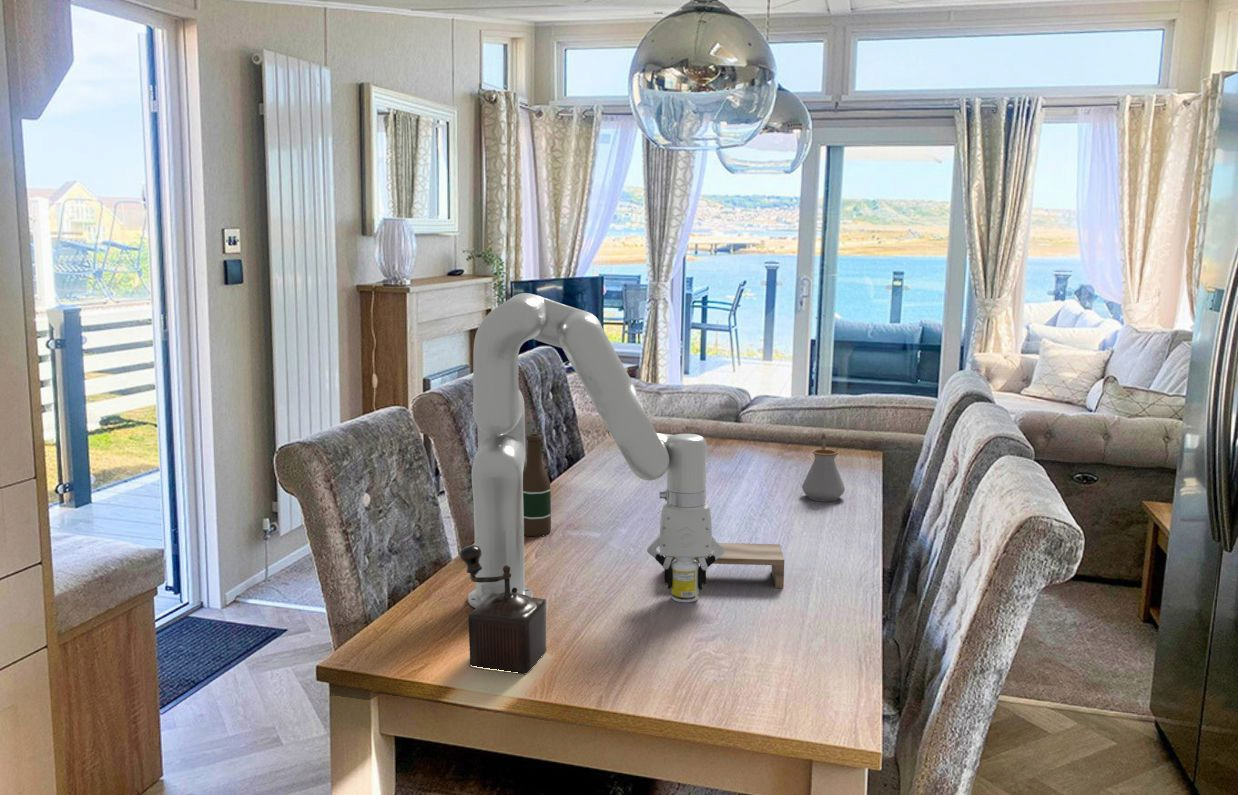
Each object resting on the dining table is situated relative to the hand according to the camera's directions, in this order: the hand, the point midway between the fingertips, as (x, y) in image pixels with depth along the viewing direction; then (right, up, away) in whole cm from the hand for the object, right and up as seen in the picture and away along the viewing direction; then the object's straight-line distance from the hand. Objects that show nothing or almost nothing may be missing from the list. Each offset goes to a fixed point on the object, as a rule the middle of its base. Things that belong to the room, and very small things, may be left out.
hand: (684, 586), depth 192 cm
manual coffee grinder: (-34, -7, -26) cm, 43 cm away
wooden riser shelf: (+9, -1, +12) cm, 15 cm away
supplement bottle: (0, -3, 0) cm, 3 cm away
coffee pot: (+44, +10, +78) cm, 90 cm away
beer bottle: (-33, +4, +42) cm, 54 cm away
